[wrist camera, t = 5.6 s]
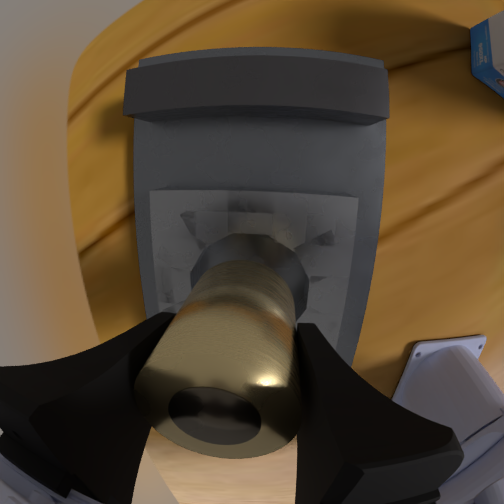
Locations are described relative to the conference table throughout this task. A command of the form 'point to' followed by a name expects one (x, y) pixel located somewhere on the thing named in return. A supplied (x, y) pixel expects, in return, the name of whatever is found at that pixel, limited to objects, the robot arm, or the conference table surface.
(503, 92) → the ink box
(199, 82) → the jig
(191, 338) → the bushing
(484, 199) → the conference table surface
